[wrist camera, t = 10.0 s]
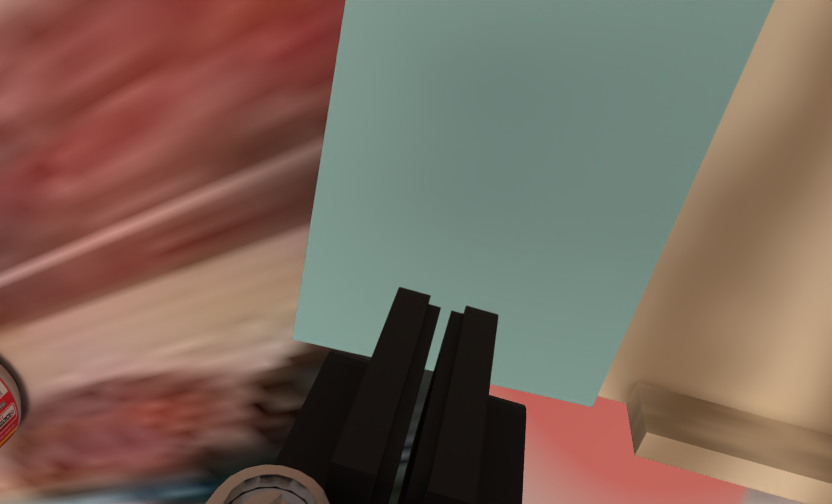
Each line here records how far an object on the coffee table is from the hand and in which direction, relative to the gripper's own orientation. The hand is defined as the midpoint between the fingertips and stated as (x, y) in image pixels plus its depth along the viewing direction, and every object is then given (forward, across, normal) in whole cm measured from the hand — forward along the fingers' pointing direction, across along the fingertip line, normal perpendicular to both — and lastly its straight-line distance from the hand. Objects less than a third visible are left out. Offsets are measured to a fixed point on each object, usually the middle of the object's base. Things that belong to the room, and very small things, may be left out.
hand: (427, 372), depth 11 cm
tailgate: (+14, -7, 0) cm, 16 cm away
